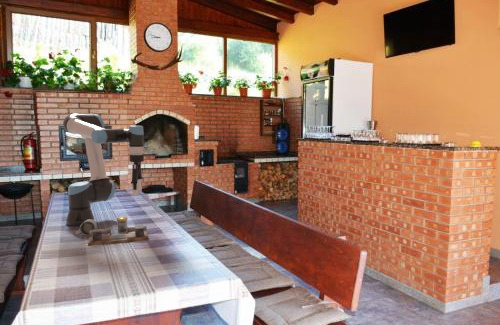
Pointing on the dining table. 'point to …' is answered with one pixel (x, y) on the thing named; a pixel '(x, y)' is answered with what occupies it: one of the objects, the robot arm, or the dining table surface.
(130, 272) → the dining table surface
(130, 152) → the robot arm
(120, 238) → the shaft bench
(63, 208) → the dining table surface
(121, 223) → the knob
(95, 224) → the ceramic mug
